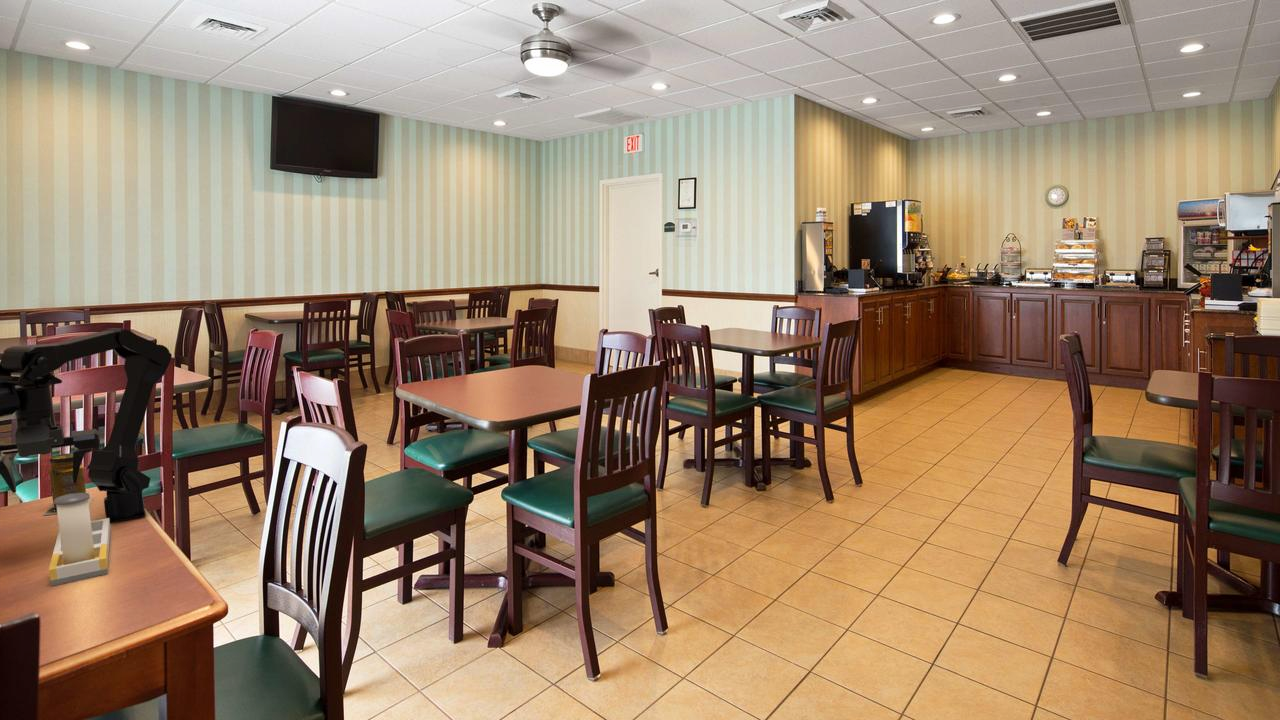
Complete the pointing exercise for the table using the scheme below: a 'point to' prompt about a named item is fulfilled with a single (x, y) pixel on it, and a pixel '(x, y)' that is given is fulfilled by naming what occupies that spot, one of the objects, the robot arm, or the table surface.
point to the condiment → (64, 479)
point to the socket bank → (84, 568)
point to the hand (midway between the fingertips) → (45, 487)
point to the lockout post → (75, 527)
